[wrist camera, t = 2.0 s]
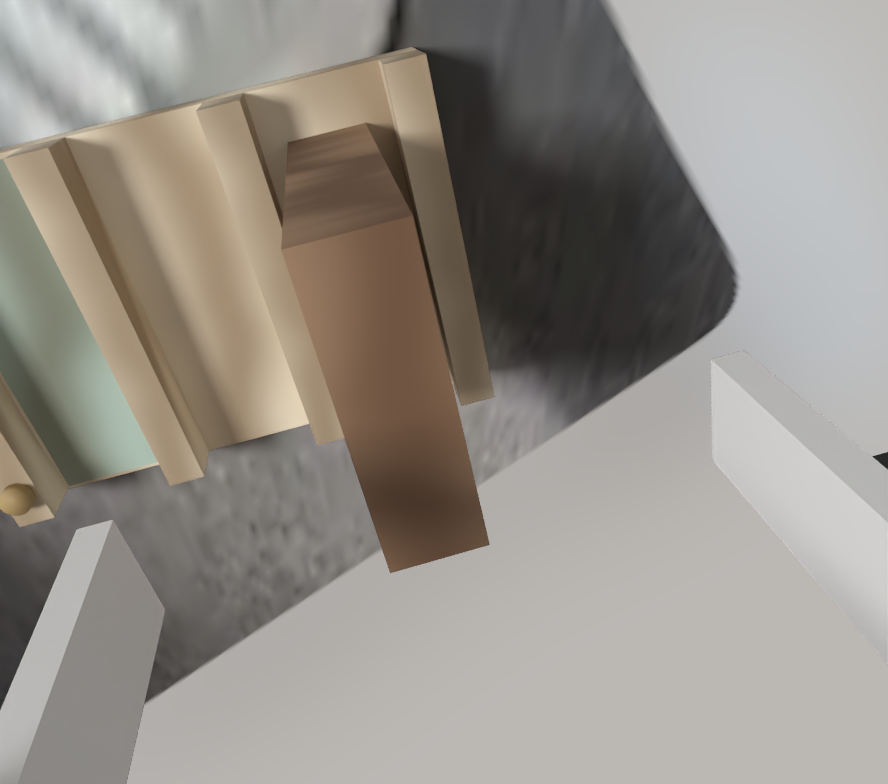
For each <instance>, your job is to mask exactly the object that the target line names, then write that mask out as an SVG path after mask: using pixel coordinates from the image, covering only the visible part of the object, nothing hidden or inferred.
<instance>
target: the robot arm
mask: <svg viewBox="0 0 888 784" xmlns="http://www.w3.org/2000/svg"><path fill="white" fill-rule="evenodd" d="M711 404H712V460H713V461H714V462H715V464H717V466H718V467H719V468H720V469H721V471H722V472H723V473H724V474H725V475H726V476H727V477H728V479H729V480H730V481H731V482H732V483H733V485H734V486H735V487H736V488H737V489H738V490H739V492H740V493H741V494H742V495H743V496H744V497H745V499H746V500H747V501H748V502H749V503H750V504H751V506H752V507H753V508H754V509H755V510H756V512H757V513H758V514H759V515H760V516H761V517H762V518H763V520H764V521H765V522H766V523H767V524H768V525H769V527H770V528H771V529H772V530H773V531H774V533H775V534H776V535H777V536H778V537H779V538H780V539H781V541H782V542H783V543H784V544H785V545H786V547H788V549H789V550H790V551H791V552H792V553H793V555H794V556H795V557H796V558H797V559H798V560H799V562H800V563H801V564H802V565H803V566H804V568H805V569H806V570H807V571H808V572H809V573H810V575H811V576H812V577H813V578H814V579H815V580H816V582H818V584H819V585H820V586H821V587H822V588H823V590H824V591H825V592H826V593H827V594H828V596H829V597H830V598H831V599H832V600H833V601H834V602H835V604H836V605H837V606H838V607H839V608H840V610H841V611H842V612H843V613H844V614H845V615H846V617H847V618H848V619H849V620H850V621H851V623H852V624H853V625H854V626H855V627H856V628H857V630H858V631H859V632H860V633H861V634H862V635H863V637H864V638H865V639H866V640H867V641H868V642H869V644H871V646H872V647H873V648H874V649H875V651H876V652H877V653H878V654H879V655H880V656H881V658H882V659H883V660H884V661H885V662H886V663H887V664H888V452H887V453H883V454H880V455H876V456H871V455H869V454H868V453H867V452H866V451H865V450H864V449H862V448H861V447H860V446H859V445H858V444H856V443H855V442H854V441H853V440H852V439H850V438H849V437H848V436H847V435H845V434H844V433H843V432H842V431H841V430H840V429H838V428H837V427H836V426H835V425H834V424H832V423H831V422H830V421H829V420H827V419H826V418H825V417H824V416H823V415H822V414H820V413H819V412H818V411H817V410H816V409H814V408H813V407H812V406H811V405H810V404H808V403H807V402H806V401H805V400H804V399H802V398H801V397H800V396H799V395H798V394H796V393H795V392H794V391H793V390H792V389H790V388H789V387H788V386H787V385H786V384H784V383H783V382H782V381H781V380H780V379H778V378H777V377H776V376H775V375H773V374H772V373H771V372H770V371H769V370H768V369H766V368H765V367H764V366H763V365H762V364H760V363H759V362H758V361H757V360H756V359H754V358H753V357H752V356H751V355H750V354H748V353H747V352H746V351H745V350H743V351H740V352H736V353H732V354H728V355H725V356H721V357H718V358H714V359H711ZM164 614H165V608H164V607H163V605H162V603H161V602H160V600H159V598H158V596H157V595H156V593H155V591H154V589H153V588H152V586H151V584H150V583H149V581H148V579H147V577H146V576H145V574H144V572H143V571H142V569H141V567H140V565H139V564H138V562H137V560H136V559H135V557H134V555H133V553H132V552H131V550H130V548H129V547H128V545H127V543H126V541H125V540H124V538H123V536H122V535H121V533H120V531H119V529H118V528H117V526H116V524H115V523H114V521H113V520H110V521H106V522H103V523H99V524H95V525H91V526H88V527H84V528H80V529H77V530H76V532H75V535H74V537H73V539H72V542H71V544H70V546H69V549H68V551H67V554H66V556H65V558H64V561H63V563H62V565H61V568H60V570H59V572H58V575H57V577H56V580H55V582H54V584H53V587H52V589H51V591H50V594H49V596H48V599H47V601H46V603H45V606H44V608H43V610H42V613H41V615H40V618H39V620H38V622H37V625H36V627H35V629H34V632H33V634H32V636H31V639H30V641H29V644H28V646H27V648H26V651H25V653H24V655H23V658H22V660H21V663H20V665H19V667H18V670H17V672H16V674H15V677H14V679H13V681H12V684H11V686H10V689H9V691H8V693H7V696H6V698H4V699H0V784H126V783H127V778H128V774H129V769H130V764H131V760H132V756H133V751H134V747H135V743H136V738H137V734H138V729H139V724H140V720H141V716H142V711H143V707H144V703H145V698H146V694H147V689H148V685H149V681H150V676H151V672H152V667H153V663H154V658H155V654H156V650H157V645H158V641H159V636H160V632H161V627H162V623H163V618H164Z"/></svg>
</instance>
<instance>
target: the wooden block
mask: <svg viewBox="0 0 888 784" xmlns="http://www.w3.org/2000/svg"><path fill="white" fill-rule="evenodd" d="M281 251H282V254H283V257H284V260H285V263H286V266H287V269H288V272H289V275H290V278H291V281H292V284H293V287H294V290H295V293H296V296H297V299H298V301H299V304H300V307H301V310H302V313H303V316H304V319H305V322H306V325H307V328H308V331H309V334H310V337H311V340H312V343H313V346H314V349H315V352H316V355H317V358H318V361H319V364H320V367H321V370H322V373H323V375H324V378H325V381H326V384H327V387H328V390H329V393H330V396H331V399H332V402H333V405H334V408H335V411H336V414H337V417H338V420H339V423H340V426H341V429H342V432H343V435H344V438H345V441H346V444H347V447H348V449H349V452H350V455H351V458H352V461H353V464H354V467H355V470H356V473H357V476H358V479H359V482H360V485H361V488H362V491H363V494H364V497H365V500H366V503H367V506H368V509H369V512H370V515H371V518H372V521H373V523H374V526H375V529H376V532H377V535H378V538H379V541H380V544H381V547H382V550H383V553H384V556H385V559H386V562H387V565H388V568H389V571H390V573H392V572H396V571H399V570H403V569H406V568H410V567H413V566H417V565H420V564H424V563H427V562H431V561H434V560H438V559H441V558H445V557H448V556H452V555H455V554H459V553H462V552H466V551H469V550H473V549H476V548H480V547H483V546H487V545H489V541H488V536H487V532H486V527H485V523H484V519H483V514H482V510H481V506H480V502H479V497H478V493H477V489H476V484H475V480H474V476H473V472H472V467H471V463H470V459H469V454H468V450H467V446H466V442H465V437H464V433H463V429H462V424H461V420H460V416H459V412H458V407H457V403H456V399H455V394H454V390H453V386H452V381H451V377H450V373H449V369H448V364H447V360H446V356H445V351H444V347H443V343H442V339H441V334H440V330H439V326H438V321H437V317H436V313H435V309H434V304H433V300H432V296H431V291H430V287H429V283H428V279H427V274H426V270H425V266H424V261H423V257H422V253H421V249H420V244H419V240H418V236H417V231H416V227H415V223H414V218H413V215H412V213H411V211H410V209H409V207H408V205H407V203H406V201H405V199H404V197H403V195H402V194H401V192H400V190H399V188H398V186H397V184H396V182H395V180H394V178H393V176H392V174H391V172H390V170H389V168H388V166H387V164H386V162H385V160H384V158H383V156H382V154H381V153H380V151H379V149H378V147H377V145H376V143H375V141H374V139H373V137H372V135H371V133H370V131H369V129H368V127H367V125H366V123H363V124H359V125H355V126H351V127H347V128H343V129H339V130H335V131H331V132H327V133H323V134H319V135H315V136H311V137H307V138H303V139H299V140H295V141H291V142H288V146H287V162H286V178H285V194H284V210H283V227H282V243H281Z"/></svg>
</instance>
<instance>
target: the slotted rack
mask: <svg viewBox="0 0 888 784" xmlns="http://www.w3.org/2000/svg"><path fill="white" fill-rule="evenodd" d="M363 123H366V125H367V127H368V129H369V131H370V133H371V135H372V137H373V139H374V141H375V143H376V145H377V147H378V149H379V151H380V153H381V154H382V156H383V158H384V160H385V162H386V164H387V166H388V168H389V170H390V172H391V174H392V176H393V178H394V180H395V182H396V184H397V186H398V188H399V190H400V192H401V194H402V195H403V197H404V199H405V201H406V203H407V205H408V207H409V209H410V211H411V213H412V215H413V218H414V223H415V227H416V231H417V236H418V240H419V244H420V249H421V253H422V257H423V261H424V266H425V270H426V274H427V279H428V283H429V287H430V291H431V296H432V300H433V304H434V309H435V313H436V317H437V321H438V326H439V330H440V334H441V339H442V343H443V347H444V351H445V356H446V360H447V364H448V369H449V373H450V377H451V381H452V385H454V388H455V390H456V393H457V395H458V398H459V400H460V403H461V405H462V406H463V405H467V404H471V403H474V402H478V401H481V400H485V399H489V398H492V397H495V396H494V391H493V386H492V381H491V376H490V371H489V366H488V361H487V356H486V351H485V346H484V341H483V336H482V331H481V326H480V321H479V316H478V311H477V306H476V301H475V296H474V291H473V286H472V281H471V276H470V271H469V266H468V261H467V256H466V251H465V246H464V241H463V236H462V231H461V226H460V221H459V216H458V211H457V206H456V201H455V196H454V191H453V186H452V181H451V176H450V171H449V166H448V161H447V156H446V151H445V146H444V141H443V136H442V131H441V126H440V121H439V116H438V111H437V106H436V101H435V96H434V91H433V86H432V81H431V76H430V71H429V66H428V61H427V56H426V54H425V53H423V52H421V51H419V50H417V49H415V48H413V47H410V48H406V49H402V50H398V51H394V52H390V53H386V54H382V55H378V56H373V57H369V58H365V59H361V60H357V61H353V62H349V63H345V64H341V65H337V66H333V67H329V68H325V69H321V70H317V71H313V72H309V73H305V74H301V75H297V76H293V77H289V78H285V79H281V80H277V81H272V82H268V83H264V84H260V85H256V86H252V87H248V88H244V89H240V90H236V91H232V92H228V93H224V94H220V95H216V96H212V97H208V98H204V99H200V100H196V101H192V102H188V103H184V104H180V105H176V106H171V107H167V108H163V109H159V110H155V111H151V112H147V113H143V114H139V115H135V116H131V117H127V118H123V119H119V120H115V121H111V122H107V123H103V124H99V125H95V126H91V127H87V128H83V129H79V130H75V131H70V132H66V133H62V134H58V135H54V136H50V137H46V138H42V139H38V140H34V141H30V142H26V143H22V144H18V145H14V146H10V147H6V148H2V149H0V509H1V510H2V511H3V512H5V513H6V514H9V515H12V517H13V518H14V519H15V521H16V522H17V524H18V525H19V527H22V526H25V525H29V524H33V523H36V522H40V521H44V520H47V519H51V518H54V517H55V515H56V513H57V511H58V509H59V507H60V505H61V502H62V500H63V498H64V496H65V494H66V492H67V489H71V488H75V487H78V486H82V485H86V484H89V483H93V482H97V481H100V480H104V479H108V478H112V477H115V476H119V475H123V474H126V473H130V472H134V471H137V470H141V469H145V468H148V467H152V466H156V465H160V467H161V469H162V471H163V473H164V475H165V477H166V479H167V481H168V483H169V485H170V486H171V485H175V484H179V483H182V482H186V481H189V480H193V479H197V478H200V477H204V475H205V470H206V465H207V460H208V454H209V451H211V450H214V449H218V448H222V447H225V446H229V445H233V444H236V443H240V442H244V441H247V440H251V439H255V438H258V437H262V436H266V435H269V434H273V433H277V432H280V431H284V430H288V429H291V428H295V427H299V426H302V425H306V424H310V427H311V429H312V432H313V435H314V438H315V440H316V443H317V445H321V444H325V443H328V442H332V441H335V440H339V439H343V438H344V435H343V432H342V429H341V426H340V423H339V420H338V417H337V414H336V411H335V408H334V405H333V402H332V399H331V396H330V393H329V390H328V387H327V384H326V381H325V378H324V375H323V373H322V370H321V367H320V364H319V361H318V358H317V355H316V352H315V349H314V346H313V343H312V340H311V337H310V334H309V331H308V328H307V325H306V322H305V319H304V316H303V313H302V310H301V307H300V304H299V301H298V299H297V296H296V293H295V290H294V287H293V284H292V281H291V278H290V275H289V272H288V269H287V266H286V263H285V260H284V257H283V254H282V251H281V243H282V227H283V210H284V194H285V178H286V162H287V146H288V142H291V141H295V140H299V139H303V138H307V137H311V136H315V135H319V134H323V133H327V132H331V131H335V130H339V129H343V128H347V127H351V126H355V125H359V124H363Z"/></svg>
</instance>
